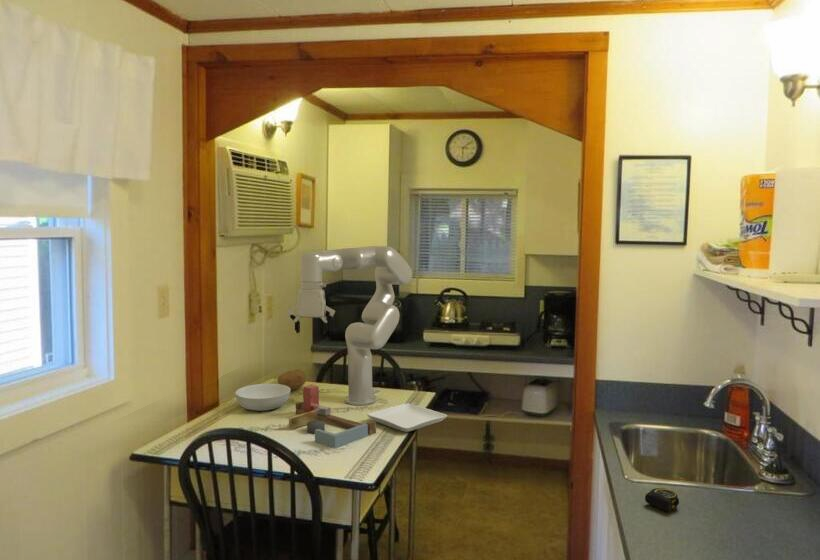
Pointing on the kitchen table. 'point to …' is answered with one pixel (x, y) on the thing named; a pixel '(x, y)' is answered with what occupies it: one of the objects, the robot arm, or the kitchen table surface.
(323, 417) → the rail
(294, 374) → the potato
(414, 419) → the salad plate
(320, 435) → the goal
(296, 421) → the toy block assembly
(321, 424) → the puck
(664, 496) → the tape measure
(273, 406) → the serving bowl
